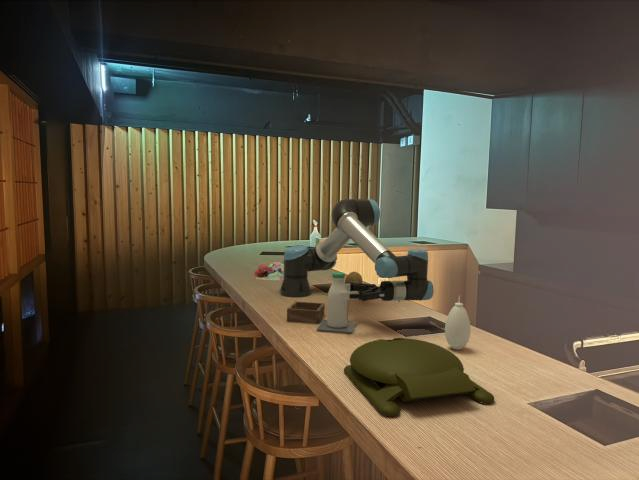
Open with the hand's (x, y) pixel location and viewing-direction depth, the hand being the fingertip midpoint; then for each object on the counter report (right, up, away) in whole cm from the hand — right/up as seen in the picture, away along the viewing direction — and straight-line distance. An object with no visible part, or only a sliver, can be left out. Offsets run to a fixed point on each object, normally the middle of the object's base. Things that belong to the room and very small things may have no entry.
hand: (336, 291), depth 170 cm
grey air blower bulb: (+39, -17, -19) cm, 46 cm away
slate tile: (0, -14, +2) cm, 14 cm away
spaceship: (+18, -20, -45) cm, 53 cm away
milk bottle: (0, -13, +2) cm, 13 cm away
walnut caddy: (-12, -12, +14) cm, 22 cm away
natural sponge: (+11, -7, +65) cm, 67 cm away
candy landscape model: (-33, -3, +100) cm, 105 cm away
